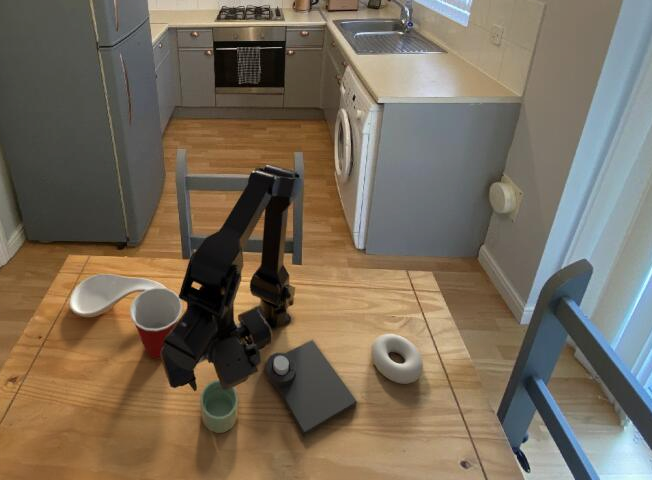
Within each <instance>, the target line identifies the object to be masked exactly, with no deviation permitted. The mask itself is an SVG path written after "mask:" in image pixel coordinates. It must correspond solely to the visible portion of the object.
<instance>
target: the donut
mask: <svg viewBox="0 0 652 480" xmlns="http://www.w3.org/2000/svg"><path fill="white" fill-rule="evenodd" d="M370 349H371V352H370V354H371V359H372V362H373V364H374V366H375V367H376V369H377V371H378V372H379V373H380V374H381V375H382V376H383V377H384V378H386V379H388V380H390V381H391V382H394V383H397V384H403V385H405V384H406V385H408V384H411V383H414V382H416V381H417V380H418V379H419V378H420V377H421V376H422V373H423V370H424V362H423V358H422V356H421V353H420V351H419V350H418V348H417V347H416V345H415V344H413V342H411V341H410V340H409V339H407V338H405V337H403V336H401V335H399V334H395V333H384V334H381V335H379V336H378V337H377V338H375V339H374V341H373V343H372V345H371V348H370ZM390 353H397V354H399V355H400V356H401V357H402V358H403V359H404V362H403V363H398V362H395V361H394V360H393V359H391V358H390V357H389V354H390Z"/></svg>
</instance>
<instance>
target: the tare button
mask: <svg viewBox="0 0 652 480" xmlns="http://www.w3.org/2000/svg"><path fill="white" fill-rule="evenodd" d="M273 368H274V371H275V372H276V373H277V374H278V375H285V374H286V373H287V372H288V368H289V362H288V360H287V358H285V357H284V356H277V357H276V358H275V359H274V364H273Z"/></svg>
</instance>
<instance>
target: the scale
mask: <svg viewBox="0 0 652 480" xmlns="http://www.w3.org/2000/svg"><path fill="white" fill-rule="evenodd" d="M277 356H284V357H285V358H287V360H288V362H289V368H288V372H287V373H286V374H285V375H278V374H277V373H276V372H275V371H274V368H273V364H274V359H275V358H276V357H277ZM264 370H265V376H266V377H267V380H268V382H270V383H271V384H273V385H274V387H275V389H276V390H277V392H278V394H279V396H280V398H281V399H282V401H283V403H284V405H285V406H286V408H287V410H288V412H289V413H290V415H291V417H292V418H293V420H294V422H295V424H296V426H297V427H298V429H299V431H300V433H301V435H302V436H303V437H307V436H308V435H310V434H311V433H313V432H315V431H316V430H318V429H320V428H322V427H323V426H325V425H327V424H328V423H330V422H331V421H333V420H335V419H337V418H338V417H340V416H343V414H345V413H347V412H348V411H350V410H352V409H353V408H355V407H357V403H358V401H357V399H356V398H355V397H354V395H353V394H352V392H351V391H350V390H349V388H348V387H347V386H346V383H344V382H343V380H342V379H341V377H340V376H339V374H338V373H337V372H336V370H335V369H334V367H333V366H332V365H331V363H330V362H329V360H328V359H327V358H326V356H325V354H324V353H323V352H322V351H321V349H320V348H319V347H318V345H317V343H316V342H315V341H314V340H313V339H311V340H309V341H307V342H305V343H303V344H301V345H299V346H297V347H295V348H293V349H291V350H289V351H286V352H274V353H273V354H271V355H269V356H268V358H267V360H266V361H265V362H264Z"/></svg>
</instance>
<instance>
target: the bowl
mask: <svg viewBox="0 0 652 480" xmlns="http://www.w3.org/2000/svg"><path fill="white" fill-rule="evenodd" d="M238 397H239V396H238V392H237V391H236V388H235V386H234V387H233V388H231V389H229V390H224V389H223V388H222V387H221V385H220V382H219V379H215V380H213V381H211V382H209V383H208V384H206V385H205V386H204V387H203V390H202V391H201V394H200V413H201V414H200V415H201V419H202V423H203V424H204V426H205V427H206V428H207V429H208V430H209V431H210V432H213V433H215V434H220V433H221V434H223V433H225V432H228V431H229V430H231V429H232V428H233V427H234V425H236V424H237V423H236V422H237V419H238V417H239V398H238Z"/></svg>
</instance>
